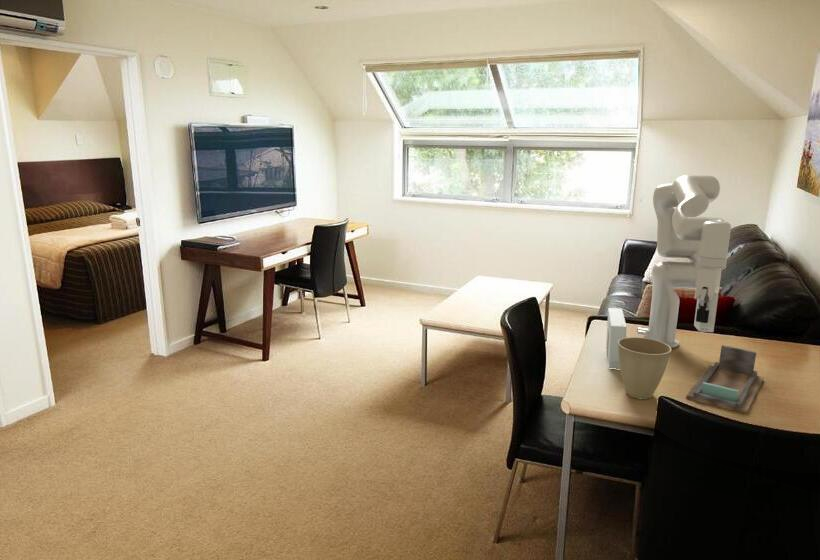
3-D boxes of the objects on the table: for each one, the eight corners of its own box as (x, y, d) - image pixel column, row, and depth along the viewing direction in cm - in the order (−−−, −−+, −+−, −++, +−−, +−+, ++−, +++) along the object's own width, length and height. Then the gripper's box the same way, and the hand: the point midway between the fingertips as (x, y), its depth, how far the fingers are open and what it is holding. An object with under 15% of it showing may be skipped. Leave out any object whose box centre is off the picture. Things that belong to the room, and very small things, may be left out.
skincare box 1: (604, 348, 214) (608, 307, 210) (619, 349, 212) (623, 308, 209) (607, 369, 194) (611, 324, 190) (624, 371, 193) (628, 326, 189)
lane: (686, 398, 173) (689, 370, 171) (708, 367, 196) (712, 342, 193) (746, 414, 163) (751, 384, 161) (763, 380, 186) (767, 354, 184)
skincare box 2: (713, 332, 173) (719, 294, 170) (698, 331, 174) (703, 293, 171) (708, 326, 179) (712, 289, 176) (693, 325, 180) (697, 288, 177)
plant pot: (671, 407, 167) (677, 356, 163) (617, 403, 170) (622, 352, 166) (658, 385, 181) (664, 338, 178) (609, 382, 184) (614, 335, 180)
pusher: (701, 393, 173) (702, 383, 172) (701, 392, 174) (703, 381, 173) (736, 402, 167) (737, 391, 166) (736, 401, 168) (738, 390, 167)
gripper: (705, 256, 180) (698, 310, 184) (691, 265, 167) (684, 323, 171) (731, 259, 176) (724, 315, 180) (719, 268, 163) (711, 328, 167)
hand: (704, 318), depth 176 cm, fingers closed on skincare box 2, 7 cm apart
